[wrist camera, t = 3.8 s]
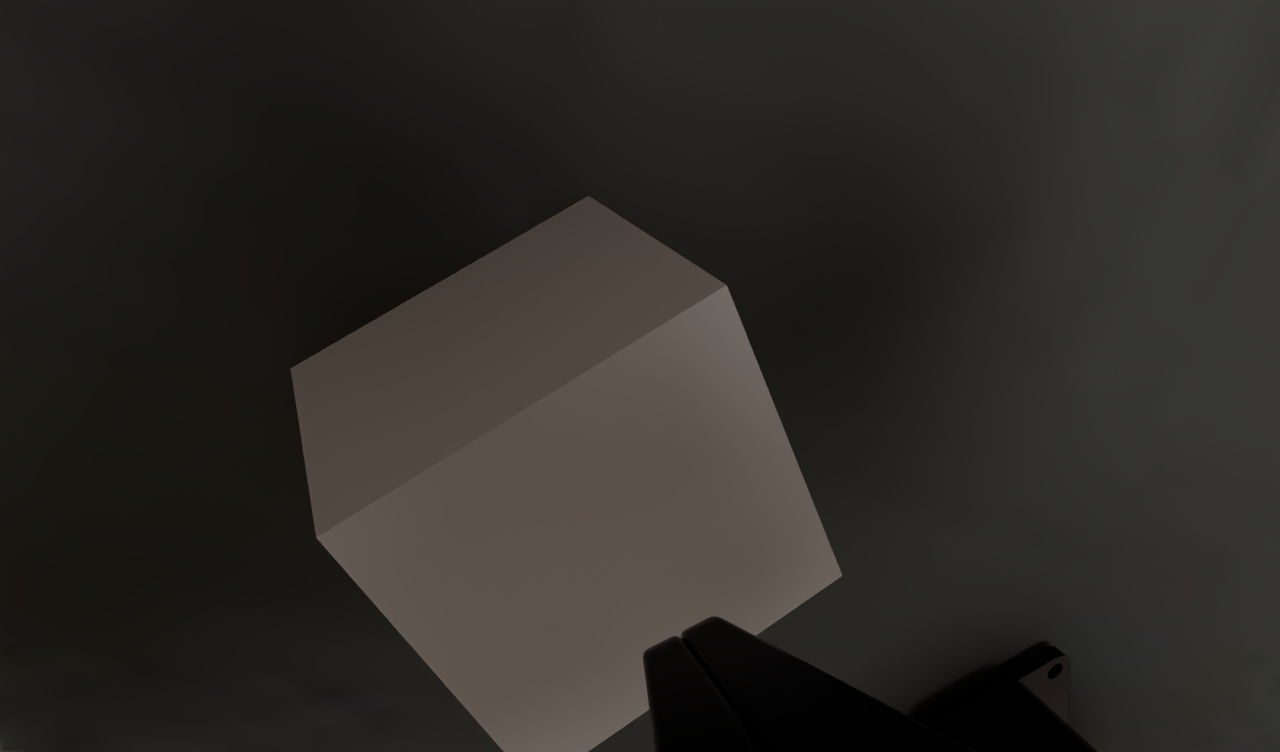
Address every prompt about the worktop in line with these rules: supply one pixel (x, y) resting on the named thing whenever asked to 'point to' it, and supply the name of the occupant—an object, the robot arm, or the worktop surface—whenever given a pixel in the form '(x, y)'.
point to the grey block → (558, 475)
